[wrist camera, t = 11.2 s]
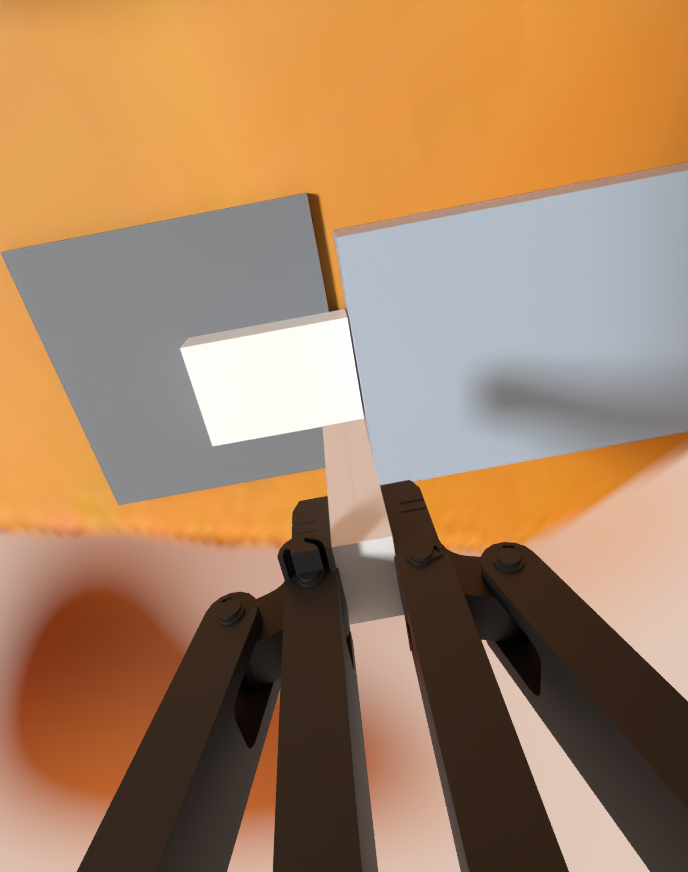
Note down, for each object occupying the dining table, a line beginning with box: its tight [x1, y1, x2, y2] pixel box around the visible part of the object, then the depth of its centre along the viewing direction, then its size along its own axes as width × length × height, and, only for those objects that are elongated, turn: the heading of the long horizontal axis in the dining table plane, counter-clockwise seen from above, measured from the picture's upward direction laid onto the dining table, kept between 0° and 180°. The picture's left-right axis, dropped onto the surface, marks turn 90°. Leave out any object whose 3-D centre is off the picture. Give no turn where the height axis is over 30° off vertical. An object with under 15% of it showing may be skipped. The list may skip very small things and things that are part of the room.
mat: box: [1, 193, 329, 505], centre depth 29 cm, size 16×16×1 cm
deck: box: [333, 162, 688, 485], centre depth 28 cm, size 22×14×4 cm, turn 100°
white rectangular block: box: [180, 309, 364, 446], centre depth 28 cm, size 9×6×2 cm, turn 100°
